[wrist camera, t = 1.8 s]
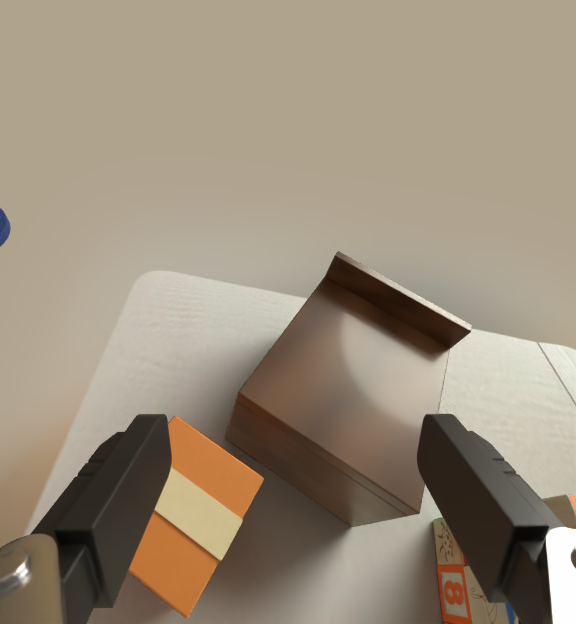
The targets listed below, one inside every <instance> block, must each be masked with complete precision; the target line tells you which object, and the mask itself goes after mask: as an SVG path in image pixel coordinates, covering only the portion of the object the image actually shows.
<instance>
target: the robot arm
mask: <svg viewBox="0 0 576 624" xmlns="http://www.w3.org/2000/svg"><path fill="white" fill-rule="evenodd" d="M171 464H172V451H171V444H170V436H169V429H168V421H167V417H166V415H165V414H139V415H137V416H136V417H135V419H134V420H133V421H132V423H131V424H130V426H129V427H128V428H127V430H126V431H125V432H117V433H116V434H114V435H113V436H112V437H110V438H109V439H108V440H106V441H105V442H104V443H102V444H101V445H100V446H99V447H98V449H97V450H96V451H95V452H94V454H93V455H92V456H91V458H90V459H89V460H88V463H86V464H85V465H84V467H83V468H82V469H81V470H80V472H79V473H78V476H77V477H75V478H74V479H73V481H72V482H71V483H70V484H69V486H68V487H67V488H66V489H65V491H64V492H63V493H62V495H61V496H60V497H59V498H58V500H57V501H56V502H55V503H54V505H53V506H52V507H51V509H50V510H49V511H48V512H47V514H46V515H45V516H44V518H43V519H42V520H41V521H40V523H39V524H38V525H37V526H36V528H35V529H34V530H33V531H32V533H31V534H30V535H27V536H24V537H21V538H19V539H16V540H14V541H12V542H10V543H8V544H6V545H4V546H2V547H1V548H0V624H86V623H87V621H88V619H89V617H90V615H91V612H92V610H93V608H112V607H113V605H114V602H115V600H116V598H117V595H118V593H119V591H120V588H121V586H122V584H123V581H124V579H125V577H126V574H127V572H128V570H129V567H130V565H131V563H132V560H133V558H134V556H135V554H136V551H137V549H138V547H139V544H140V542H141V540H142V537H143V535H144V533H145V530H146V528H147V526H148V523H149V521H150V519H151V516H152V514H153V512H154V509H155V507H156V505H157V502H158V500H159V498H160V495H161V493H162V491H163V488H164V486H165V484H166V481H167V479H168V477H169V474H170V470H171ZM417 464H418V469H419V472H420V475H421V477H422V479H423V481H424V482H425V484H426V486H427V488H428V490H429V492H430V494H431V496H432V497H433V499H434V501H435V503H436V505H437V507H438V509H439V511H440V512H441V514H442V516H443V518H444V520H445V522H446V524H447V526H448V527H449V529H450V531H451V533H452V535H453V537H454V539H455V541H456V542H457V544H458V546H459V548H460V550H461V552H462V554H463V556H464V557H465V559H466V561H467V563H468V565H469V567H470V569H471V570H472V572H473V574H474V576H475V578H476V580H477V582H478V584H479V585H480V587H481V589H482V591H483V593H484V595H485V597H486V599H487V600H488V602H489V603H509V604H510V605H511V607H512V609H513V610H514V612H515V614H516V618H515V620H514V624H576V530H575V529H571V528H567V527H566V526H565V525H564V524H563V522H562V521H561V520H560V519H559V518H558V517H557V516H556V515H555V514H554V513H553V511H552V510H551V509H550V508H549V507H548V506H547V505H546V504H545V503H544V502H543V501H542V499H541V498H540V497H539V496H538V495H537V494H536V493H535V492H534V491H533V490H532V488H531V487H530V486H529V485H528V484H527V483H526V482H525V481H524V480H523V479H522V478H521V476H520V475H517V474H516V471H515V470H514V469H513V468H512V467H511V465H510V464H509V463H508V462H505V461H504V458H503V457H502V456H501V455H500V453H499V452H498V451H497V450H496V449H495V448H494V447H493V446H492V445H491V444H490V443H489V442H487V441H486V440H485V439H483V438H482V437H480V436H479V435H477V434H476V433H474V432H473V431H467V430H466V428H465V427H464V426H463V425H462V424H461V423H460V421H459V420H458V419H457V418H456V417H455V416H454V415H452V414H426V415H425V416H424V418H423V422H422V427H421V433H420V439H419V444H418V450H417Z"/></svg>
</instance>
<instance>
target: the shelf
mask: <svg viewBox="0 0 576 624" xmlns="http://www.w3.org/2000/svg"><path fill="white" fill-rule="evenodd" d="M471 329H472V325H470V324H468V323H466V322H465V321H463V320H461V319H459V318H458V317H456V316H454V315H452V314H450V313H449V312H447V311H445V310H443V309H441V308H440V307H438V306H436V305H434V304H432V303H431V302H429V301H427V300H425V299H423V298H422V297H420V296H418V295H416V294H414V293H413V292H411V291H409V290H407V289H405V288H403V287H402V286H400V285H398V284H396V283H395V282H393V281H391V280H389V279H388V278H386V277H384V276H382V275H380V274H378V273H377V272H375V271H373V270H371V269H370V268H368V267H366V266H364V265H362V264H361V263H359V262H357V261H355V260H353V259H352V258H350V257H348V256H346V255H344V254H342V253H341V252H337V254H336V255H335V256H334V259H333V261H332V263H331V265H330V267H329V269H328V271H327V273H326V275H325V277H324V278H323V280H322V281H321V283H320V284H319V285H318V287H317V288H316V289H315V290H314V292H313V293H312V294H311V296H310V297H309V298H308V300H307V301H306V302H305V304H304V305H303V306H302V308H301V309H300V310H299V312H298V313H297V314H296V316H295V317H294V318H293V320H292V321H291V322H290V324H289V325H288V326H287V328H286V329H285V330H284V332H283V333H282V334H281V336H280V337H279V338H278V340H277V341H276V342H275V344H274V345H273V346H272V348H271V349H270V350H269V352H268V353H267V354H266V356H265V357H264V358H263V360H262V361H261V362H260V364H259V365H258V366H257V368H256V369H255V370H254V372H253V373H252V374H251V376H250V377H249V379H248V380H247V381H246V383H245V384H244V385H243V387H242V388H241V389H240V391H239V392H238V395H237V398H236V402H235V405H234V408H233V412H232V415H231V418H230V422H229V425H228V429H227V432H226V435H225V438H226V439H227V440H229V441H230V442H232V443H233V444H234V445H236V446H237V447H239V448H240V449H242V450H243V451H244V452H246V453H247V454H249V455H250V456H252V457H253V458H254V459H256V460H257V461H259V462H260V463H262V464H263V465H264V466H266V467H267V468H269V469H270V470H272V471H273V472H274V473H276V474H277V475H279V476H280V477H282V478H283V479H284V480H286V481H287V482H289V483H290V484H291V485H293V486H294V487H296V488H297V489H299V490H300V491H301V492H303V493H304V494H306V495H307V496H309V497H310V498H311V499H313V500H314V501H316V502H317V503H319V504H320V505H321V506H323V507H324V508H326V509H327V510H329V511H330V512H331V513H333V514H334V515H336V516H337V517H339V518H340V519H341V520H343V521H344V522H346V523H347V524H349V525H350V526H351V527H355V526H360V525H365V524H371V523H376V522H381V521H386V520H391V519H396V518H401V517H406V516H410V515H415V514H419V513H420V508H421V503H422V497H423V492H424V486H425V482H424V481H423V479H422V477H421V475H420V472H419V469H418V464H417V450H418V444H419V439H420V433H421V427H422V422H423V418H424V416H425V415H426V414H438V410H439V405H440V400H441V394H442V389H443V383H444V378H445V373H446V367H447V362H448V356H449V351H450V348H452V347H453V346H454V345H455V344H457V343H458V342H459V341H460V340H462V339H463V338H464V337H465V336H466V335H468V334H469V333H470V332H471Z"/></svg>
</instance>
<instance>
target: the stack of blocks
mask: <svg viewBox="0 0 576 624" xmlns="http://www.w3.org/2000/svg"><path fill="white" fill-rule="evenodd" d="M542 501H543V502H544V503H545V504H546V505H547V506H548V507H549V508H550V509H551V510H552V511H553V513H554V514H555V515H556V516H557V517H558V518H559V519H560V520H561V521H562V522H563V524H564V525H565V526H566V527H567V528H571V529H575V530H576V496H574V495H569V494H566V495H561V496H555V497H550V498H545V499H542ZM433 526H434V535H435V545H436V554H437V562H438V566H437V573H438V582H439V592H440V601H441V610H442V618H443V624H514V620H515V618H516V614H515V612H514V610H513V609H512V607H511V605H510V604H509V603H489V602H488V600H487V599H486V597H485V595H484V593H483V591H482V589H481V587H480V585H479V584H478V582H477V580H476V578H475V576H474V574H473V572H472V570H471V569H470V567H469V565H468V563H467V561H466V559H465V557H464V556H463V554H462V552H461V550H460V548H459V546H458V544H457V542H456V541H455V539H454V537H453V535H452V533H451V531H450V529H449V527H448V526H447V524H446V522H445V520H444V518H443V517H442V518H438V519H434V520H433Z"/></svg>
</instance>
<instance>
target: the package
mask: <svg viewBox="0 0 576 624" xmlns="http://www.w3.org/2000/svg"><path fill="white" fill-rule="evenodd" d="M168 429H169V436H170V444H171V451H172V464H171V470H170V474H169V477H168V479H167V481H166V484H165V486H164V488H163V491H162V493H161V495H160V498H159V500H158V502H157V505H156V507H155V509H154V512H153V514H152V516H151V519H150V521H149V523H148V526H147V528H146V530H145V533H144V535H143V537H142V540H141V542H140V544H139V547H138V549H137V551H136V554H135V556H134V558H133V560H132V563H131V565H130V567H129V570H128V572H130V573H131V574H132V575H133V576H134V577H136V578H137V579H138V580H139V581H141V582H142V583H143V584H144V585H145V586H147V587H148V588H149V589H150V590H151V591H153V592H154V593H155V594H156V595H158V596H159V597H160V598H161V599H162V600H164V601H165V602H166V603H167V604H168V605H170V606H171V607H172V608H173V609H175V610H176V611H177V612H178V613H179V614H181V615H182V616H183V617H184V618H188V617H189V616H190V614H191V612H192V611H193V609H194V607H195V605H196V603H197V601H198V600H199V598H200V596H201V594H202V592H203V590H204V589H205V587H206V585H207V583H208V581H209V579H210V578H211V576H212V574H213V572H214V570H215V568H216V567H217V565H218V563H219V561H222V559H223V557H224V555H225V553H226V552H227V550H228V548H229V546H230V544H231V542H232V540H233V539H234V537H235V535H236V533H237V531H238V529H239V528H240V526H241V524H242V522H243V520H242V519H243V517H244V515H245V514H246V512H247V510H248V508H249V506H250V504H251V503H252V501H253V499H254V497H255V495H256V493H257V492H258V490H259V488H260V486H261V484H262V482H263V481H264V478H263V477H262V476H261V475H259V474H258V473H256V472H255V471H254V470H252V469H251V468H249V467H248V466H247V465H245V464H244V463H242V462H241V461H239V460H238V459H237V458H235V457H234V456H232V455H231V454H230V453H228V452H227V451H225V450H224V449H222V448H221V447H220V446H218V445H217V444H215V443H214V442H213V441H211V440H210V439H208V438H207V437H206V436H204V435H203V434H201V433H200V432H198V431H197V430H196V429H194V428H193V427H191V426H190V425H189V424H187V423H186V422H184V421H183V420H181V419H180V418H179V417H177V416H174V417H173V418H172V420H171V421H170V422H169V423H168Z"/></svg>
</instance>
